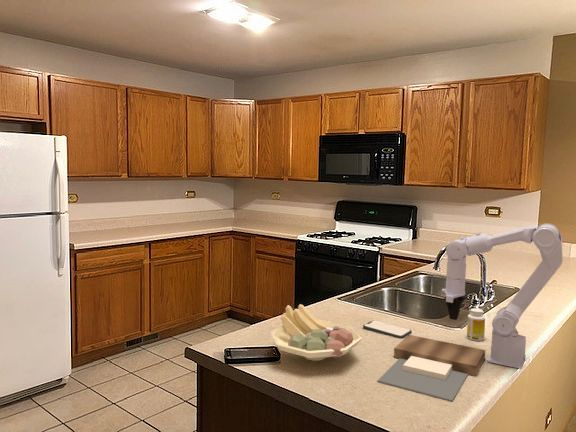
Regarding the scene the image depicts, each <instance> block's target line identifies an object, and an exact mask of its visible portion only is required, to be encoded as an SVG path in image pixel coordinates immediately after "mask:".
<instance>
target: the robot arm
mask: <svg viewBox="0 0 576 432" xmlns="http://www.w3.org/2000/svg"><path fill="white" fill-rule="evenodd" d="M515 242H523V243H527V244H530V245H531V244H532V243H534V245H535V247H536V248H537V249H538V250H539V253H540V256H541V259H542V260H541V261H540V263H539V264H538V266H536V268H535V269H534V270H533V271H532V273H531V275H529V277H528V278H527V280H526V281H525V282H524V283H523V285H522V286H521V287H520V289H519V290H518V291H517V292H516V294H515V295H514V296H513V298H511V300H510V301H509V303H508V304H507V305H506V306H505V307H502V308H500V309H498V311H497V313H496V315H495V316H494V318H493V319H492V321H491V326H492V329H491V342H490V343H491V344H490V348H491V349H490V354H489V357H488V358H487V362H488V363H490V364H491V363H492V364H496V365H501V366H505V367H506V366H507V367H509V368H510V367H511V368H515V369H519V370H521V369H523V368H524V363H525V361H526V344H527V343H526V342H527V337H526V336H525V335H522V334H519V331H518V329H517V328H516V326H517V325H518V323H519V320H520V319H521V317H522V315H523V314H524V312H525V311H526V310H527V309H528V307H529V306H530V305H531V303H533V301H534V300H535V299H536V297H537V296H538V295H539V294H540V292H541V291H542V290H543V289H544V288H545V286H546V285H547V284H548V282H549V281H550V280H551V278H553V276H554V275H555V274H556V273H557V271H558V269H560V267H561V266H562V264H563V258H564V257H563V237H562V234H561V233H560V229H558V227H557V226H556V225H554V224H552V223H542V224H541V225H538V224H536V225H535V224H534V225H528V226H522V227H519V228H515V229H512V230H508V231H505V232H501V233H498V234H494V235H493V234H492V235H490V234H489V233H488V234H487V233H485V232H484V233H482V232H476V234H475V235H472V236H468V237H465V236H462V237H460V239H454V240H452V241H450V242H449V243H448V244H447V246H446V247H445V254H446V256H447V263H446V276H445V277H446V279H445V288H442V289H441V292H442V293H444V294H445V296H444V298H443V299H444V303H445V305H446V306H447V310H448V316H449V319H450V320H453V321H457V319H458V318H459V315H460V311H461V307H462V305H463V303H464V301H465V300H466V297H465V295H466V290H465V289H466V274H467V272H466V271H467V262H466V261H467V256H468V257H470V256H475V255H479V254H480V255H481V254H483V253H489V252H491V251H492V250H493V248H494V247H496V246H500V245H506V244H511V243H515Z"/></svg>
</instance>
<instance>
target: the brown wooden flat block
mask: <svg viewBox="0 0 576 432" xmlns="http://www.w3.org/2000/svg"><path fill="white" fill-rule="evenodd" d="M411 356H415V357H419V358H424V359H428V360H433V361H438V362H442V363H447V364H451V365H452V370H453V371H457V372H462V373H466V374H468V376H473V377H476V376H477V375H478V372H479V371H480V369H481V368H482V365H483V364H484V362H485V360H486V349H483V348H477V347H473V346H467V345H462V344H458V343H453V342H449V341H448V342H447V341H442V340H437V339H433V338H429V337H421V336H419V335H412V334H410V335H408V336H406V337H404V338H403V340H401V341H400V342H399V343H398V344H396V345H395V347H394V348H393V358H395V359H399V358H401V359H405V360H408V359H409V358H410V357H411Z"/></svg>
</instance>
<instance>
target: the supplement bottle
mask: <svg viewBox="0 0 576 432" xmlns="http://www.w3.org/2000/svg"><path fill="white" fill-rule="evenodd" d="M466 328H467V330H466V337H467V339H469V340H470V341H473V342H474V341H475V342H482V341H484V339H485V330H486V317H485V315H484V311H483V309H481V308H477V307H475V308H471V309H470V312H469V314H468V315H467V327H466Z"/></svg>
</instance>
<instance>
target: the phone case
mask: <svg viewBox="0 0 576 432" xmlns="http://www.w3.org/2000/svg"><path fill="white" fill-rule="evenodd" d="M362 328H363V330H366V331H370V332H373V333H377V334H381V335H383V336H384V335H385V336H388V337H391V338H392V337H393V338H395V339H405V338H406V337H407V336H408V335H412V329H410V328H406V327H402V326H398V325H396V324H395V325H394V324H390V323H387V322H383V321H380V320H375V319H374V320H371V321H369V322H367V323H365V324H363V325H362Z"/></svg>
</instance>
